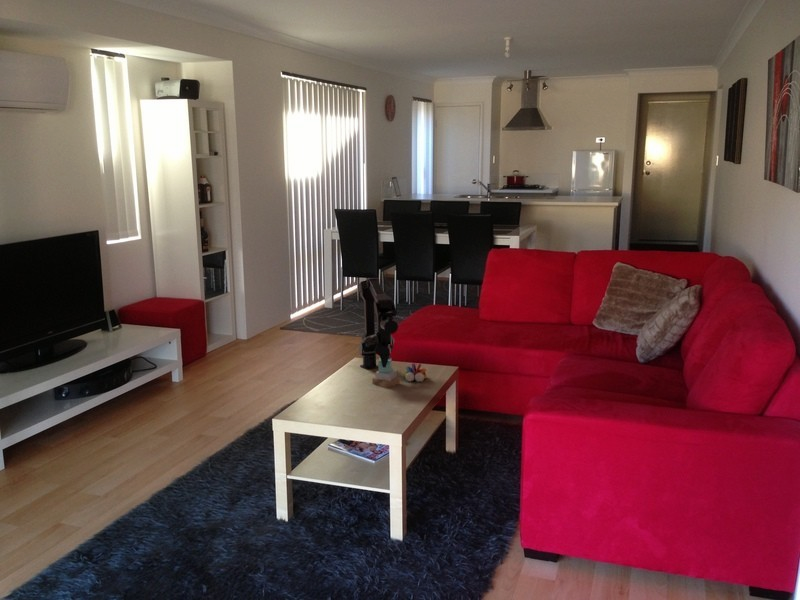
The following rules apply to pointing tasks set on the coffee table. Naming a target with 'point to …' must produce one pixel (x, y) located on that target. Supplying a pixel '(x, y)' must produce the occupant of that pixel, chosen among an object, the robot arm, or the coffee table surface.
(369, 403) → the coffee table surface
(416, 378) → the rainbow segmented toy
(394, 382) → the tower base
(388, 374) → the tower mid
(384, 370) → the teal cube
